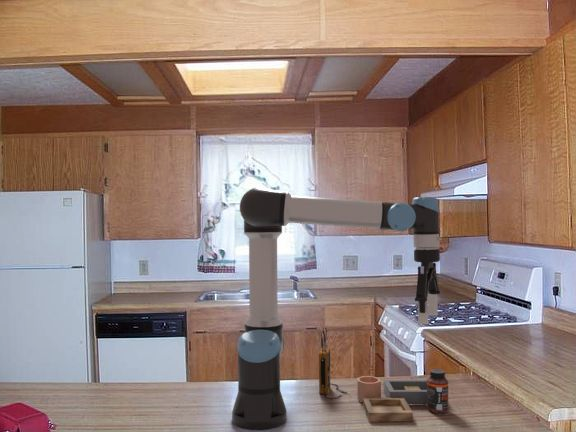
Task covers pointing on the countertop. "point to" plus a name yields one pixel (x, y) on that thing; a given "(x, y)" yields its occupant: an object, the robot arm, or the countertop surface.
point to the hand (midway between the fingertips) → (428, 319)
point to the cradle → (411, 396)
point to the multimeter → (325, 369)
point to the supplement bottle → (437, 392)
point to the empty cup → (368, 387)
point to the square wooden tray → (387, 409)
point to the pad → (411, 388)
